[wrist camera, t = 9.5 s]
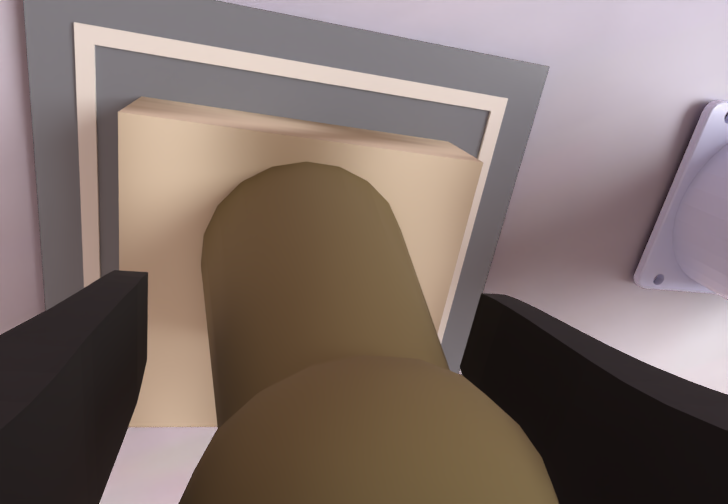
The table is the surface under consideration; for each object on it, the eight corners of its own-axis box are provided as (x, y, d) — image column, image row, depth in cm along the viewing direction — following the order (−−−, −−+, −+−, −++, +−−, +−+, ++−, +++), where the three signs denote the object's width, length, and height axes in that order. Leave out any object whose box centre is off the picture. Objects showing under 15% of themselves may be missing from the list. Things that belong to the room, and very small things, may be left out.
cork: (208, 352, 16) (134, 896, 6) (191, 161, 13) (21, 545, 3) (395, 338, 17) (592, 772, 7) (411, 161, 15) (743, 448, 5)
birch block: (448, 141, 18) (483, 162, 15) (392, 375, 21) (412, 425, 19) (141, 96, 15) (118, 112, 12) (139, 370, 19) (120, 427, 16)
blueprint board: (543, 65, 18) (551, 66, 17) (445, 402, 23) (448, 409, 23) (26, -37, 14) (18, -39, 13) (56, 399, 19) (51, 408, 19)
